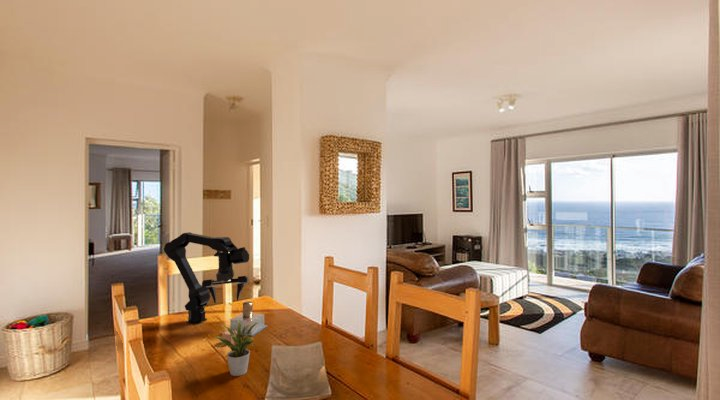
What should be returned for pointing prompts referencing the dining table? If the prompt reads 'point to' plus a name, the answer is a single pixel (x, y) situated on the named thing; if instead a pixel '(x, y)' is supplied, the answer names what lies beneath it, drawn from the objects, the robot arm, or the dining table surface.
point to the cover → (247, 319)
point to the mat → (256, 331)
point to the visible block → (228, 335)
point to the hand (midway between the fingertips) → (226, 301)
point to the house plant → (238, 350)
